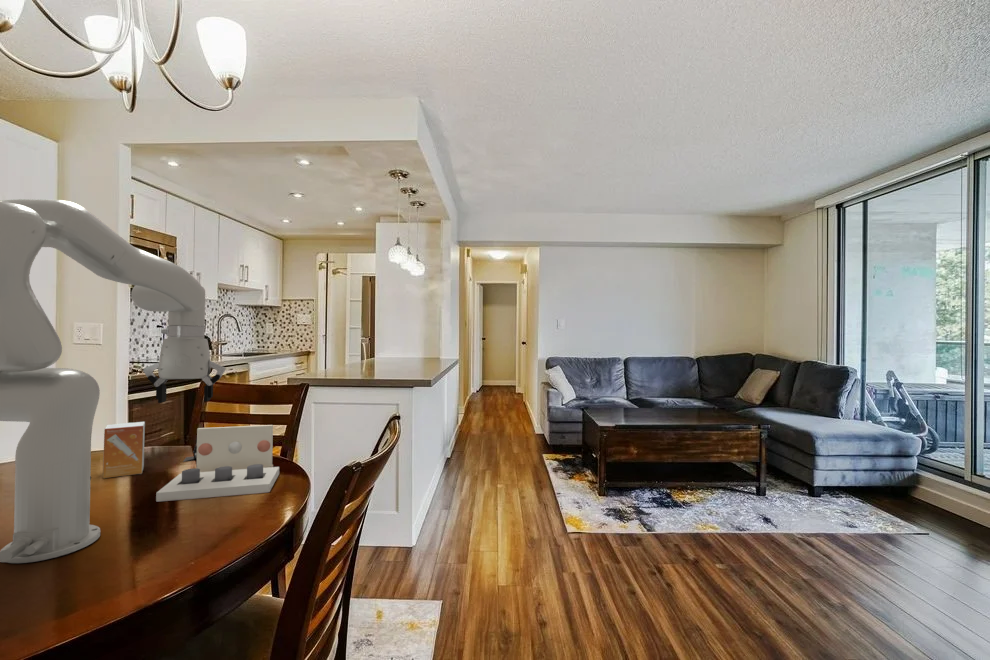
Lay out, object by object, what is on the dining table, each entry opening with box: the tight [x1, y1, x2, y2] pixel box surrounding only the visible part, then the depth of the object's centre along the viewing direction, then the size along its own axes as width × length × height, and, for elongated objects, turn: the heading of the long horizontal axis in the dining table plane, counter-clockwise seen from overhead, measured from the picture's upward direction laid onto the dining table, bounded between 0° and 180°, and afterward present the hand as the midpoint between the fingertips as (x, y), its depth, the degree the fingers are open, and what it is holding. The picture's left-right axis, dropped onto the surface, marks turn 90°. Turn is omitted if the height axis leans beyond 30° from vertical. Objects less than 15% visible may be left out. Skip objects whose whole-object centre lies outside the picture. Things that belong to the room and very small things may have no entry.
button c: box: [247, 464, 263, 479], centre depth 111 cm, size 4×4×3 cm
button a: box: [181, 467, 200, 484], centre depth 107 cm, size 4×4×3 cm
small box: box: [102, 421, 146, 479], centre depth 118 cm, size 8×6×13 cm
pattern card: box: [195, 424, 274, 472], centre depth 120 cm, size 4×18×12 cm, turn 107°
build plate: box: [182, 443, 197, 463], centre depth 133 cm, size 12×7×5 cm, turn 117°
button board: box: [155, 466, 280, 502], centre depth 109 cm, size 14×23×2 cm, turn 107°
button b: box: [215, 466, 232, 482], centre depth 109 cm, size 4×4×3 cm
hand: (185, 401), depth 110 cm, fingers open, 9 cm apart
